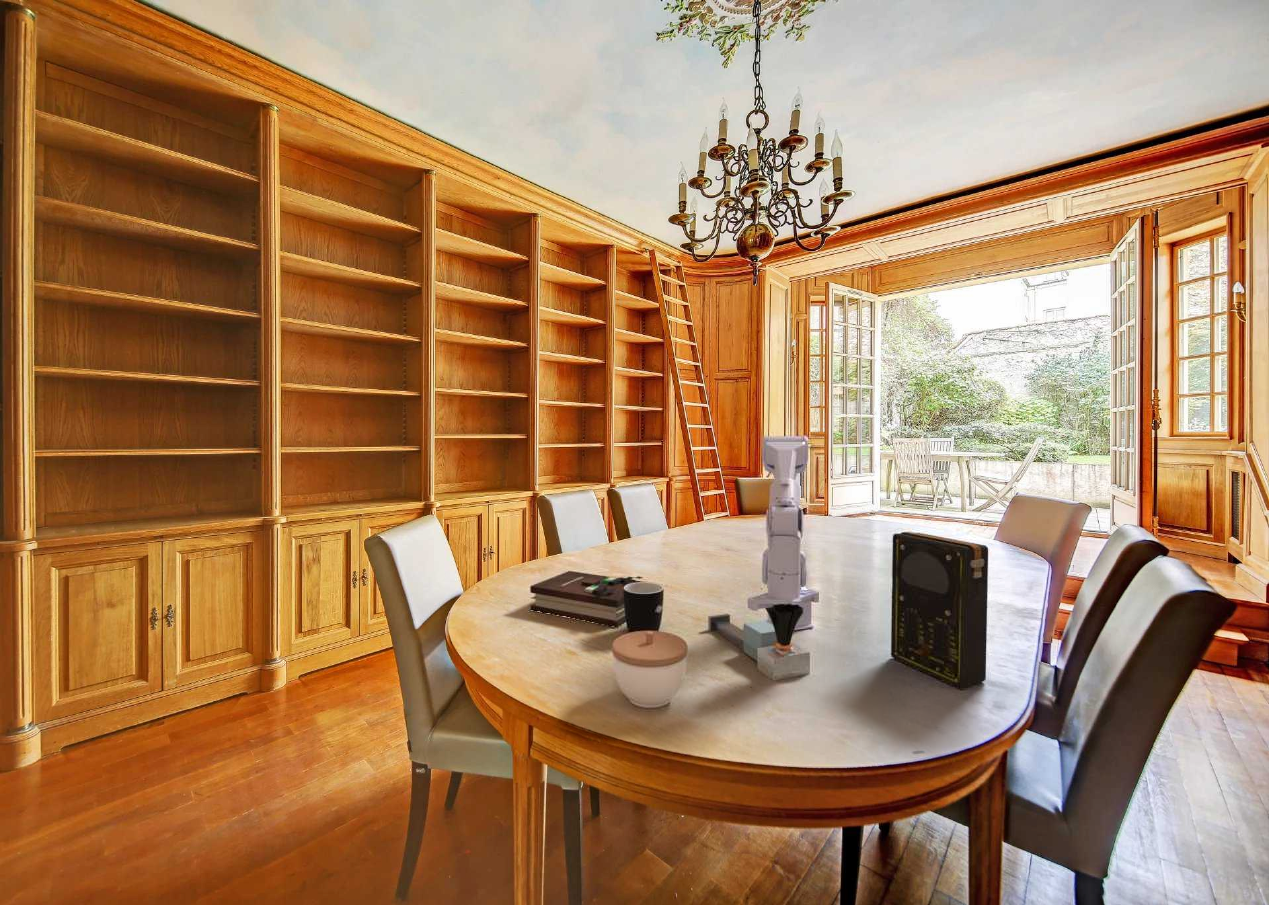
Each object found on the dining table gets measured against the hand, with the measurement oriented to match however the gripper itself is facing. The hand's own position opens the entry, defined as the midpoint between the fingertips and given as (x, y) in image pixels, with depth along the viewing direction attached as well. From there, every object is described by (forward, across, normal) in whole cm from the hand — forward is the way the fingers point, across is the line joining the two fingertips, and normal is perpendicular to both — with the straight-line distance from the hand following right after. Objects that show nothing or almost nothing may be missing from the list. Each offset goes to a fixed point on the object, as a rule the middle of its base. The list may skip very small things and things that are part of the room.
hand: (783, 643), depth 99 cm
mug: (+5, -16, +29) cm, 34 cm away
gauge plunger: (+5, 0, 0) cm, 5 cm away
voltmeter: (+5, +27, -10) cm, 29 cm away
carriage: (+5, 0, +7) cm, 8 cm away
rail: (+5, 0, +13) cm, 14 cm away
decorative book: (+6, -23, +48) cm, 53 cm away
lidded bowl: (+6, -27, 0) cm, 28 cm away
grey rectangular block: (+5, 0, 0) cm, 5 cm away
